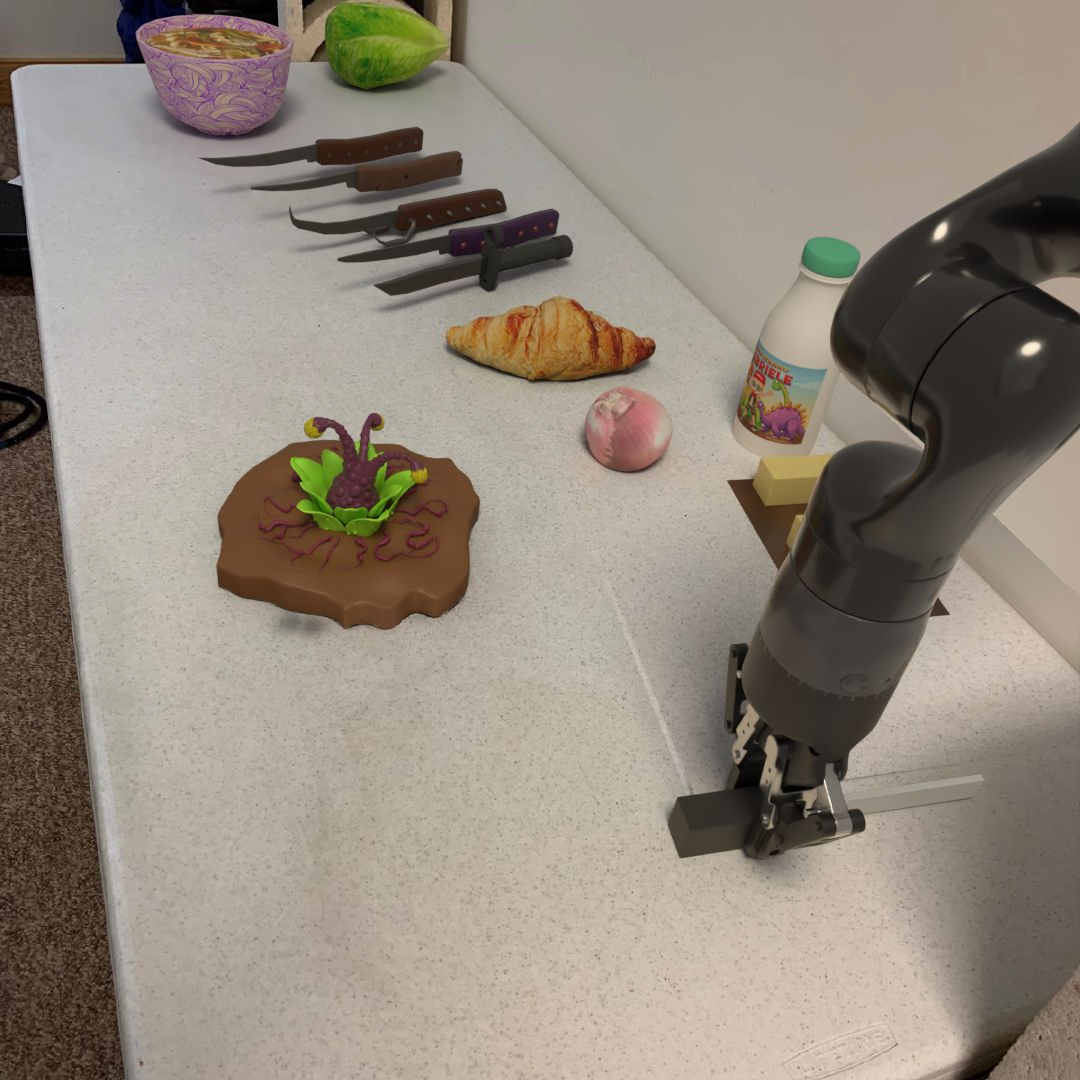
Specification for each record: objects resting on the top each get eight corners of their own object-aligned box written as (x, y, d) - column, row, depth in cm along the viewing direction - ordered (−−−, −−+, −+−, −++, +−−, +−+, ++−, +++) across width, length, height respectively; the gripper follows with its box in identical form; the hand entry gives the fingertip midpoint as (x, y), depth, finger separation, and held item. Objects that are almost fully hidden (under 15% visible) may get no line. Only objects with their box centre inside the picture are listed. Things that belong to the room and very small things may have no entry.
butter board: (845, 481, 91) (848, 472, 90) (945, 623, 78) (950, 614, 78) (724, 488, 88) (726, 479, 88) (808, 637, 75) (811, 628, 75)
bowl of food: (156, 97, 144) (143, 9, 136) (297, 103, 148) (293, 19, 140) (140, 149, 130) (126, 55, 122) (298, 155, 134) (293, 64, 126)
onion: (567, 439, 91) (577, 372, 87) (642, 428, 94) (656, 363, 89) (601, 492, 86) (614, 424, 81) (680, 479, 89) (697, 413, 84)
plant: (261, 446, 86) (250, 332, 78) (486, 474, 86) (497, 363, 79) (184, 611, 71) (162, 488, 63) (458, 644, 71) (467, 526, 64)
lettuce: (463, 96, 159) (467, 14, 151) (341, 102, 151) (339, 16, 143) (430, 68, 168) (432, -11, 160) (313, 72, 159) (310, -10, 151)
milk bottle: (765, 412, 98) (825, 219, 85) (826, 452, 94) (899, 256, 81) (713, 436, 94) (767, 237, 81) (775, 479, 90) (843, 277, 77)
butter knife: (960, 781, 67) (978, 754, 65) (979, 811, 65) (998, 785, 63) (667, 824, 62) (676, 796, 60) (679, 858, 60) (690, 831, 58)
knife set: (196, 195, 118) (192, 129, 113) (419, 162, 138) (424, 104, 133) (362, 331, 101) (366, 260, 96) (591, 271, 120) (604, 209, 115)
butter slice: (833, 479, 89) (843, 453, 87) (848, 500, 87) (859, 474, 85) (752, 484, 88) (760, 457, 86) (765, 506, 85) (774, 479, 83)
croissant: (443, 396, 100) (443, 355, 93) (446, 311, 104) (447, 265, 96) (649, 406, 102) (666, 366, 95) (646, 322, 106) (662, 277, 98)
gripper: (972, 738, 46) (854, 920, 58) (840, 538, 56) (762, 727, 68) (827, 757, 44) (735, 942, 56) (717, 547, 54) (658, 740, 66)
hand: (750, 823), depth 62 cm, fingers open, 3 cm apart
